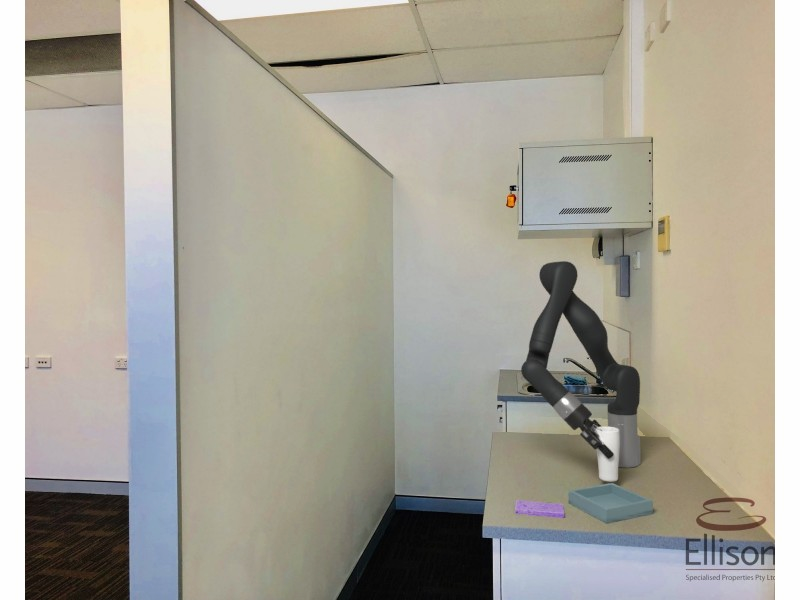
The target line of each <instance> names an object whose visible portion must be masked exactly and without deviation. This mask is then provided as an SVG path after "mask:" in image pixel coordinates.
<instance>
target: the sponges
mask: <svg viewBox="0 0 800 600" xmlns="http://www.w3.org/2000/svg"><path fill="white" fill-rule="evenodd" d="M514 510H515V513H516V514H515V515H520V514H527V515H526V516H532V515H534V517H547V518H557V519H558V518H560V519H563V518H565V510H564V504H563V503H554V502H542V501H531V500H521V499H516V501H515V507H514Z"/></svg>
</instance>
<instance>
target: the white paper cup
mask: <svg viewBox="0 0 800 600" xmlns="http://www.w3.org/2000/svg"><path fill="white" fill-rule="evenodd" d="M600 429H601V430H602V431H600ZM596 431H597V432H598V434H599V435H600V439H601V440H602V441H603V442H604V445H606V446H607V447H608V448H609V449H610V450H611V451H612V452H613V453H614V455H613V456H612V457H611V458H610V459H608V458H607V457H606V456H605V455H604V454H603V453H602V452H601V451H600V450H598V449H595V450H596V457H597V465H598V466H597V467H598V477H599V479H600V480H601V481H604V482H607V483H614V482H616V481H617V480H618V479H619V467H618V464H619V450H620V433H619V429H618V428H615V427H608V426H602V427H597V428H596ZM596 443H597V442H596Z"/></svg>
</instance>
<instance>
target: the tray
mask: <svg viewBox="0 0 800 600" xmlns="http://www.w3.org/2000/svg"><path fill="white" fill-rule="evenodd" d="M567 495H568V496H567V497H568V504H570V505H571V506H572V507H575V508H577V509H578V510H581V511H583V512H584V513H586V514H588V515H590V516H591V517H593V518H596V519H597V520H599V521H601V522H603V523H605V524H612V523H616V522H620V521H625V520H629V519H630V520H631V519H634V518H640V517H645V516H648V515H649V516H651V515H653V514H654V504H653V503H654V500H652V499H650V498H648V497H645V496H643V495H641V494H638V493H636V492H634V491H632V490H629V489H627V488H625V487H623V486H621V485H618V484H615V483H614V482H608V483H603V484H597V485H593V486H592V485H591V486H587V487H586V486H585V487H581V488H575V489H570V490H568V493H567Z"/></svg>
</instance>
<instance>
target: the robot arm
mask: <svg viewBox="0 0 800 600" xmlns="http://www.w3.org/2000/svg"><path fill="white" fill-rule="evenodd" d="M577 280H578V269H577V267H576V266H575V265H574V264H573V262H571V261H570V262H569V261H566V260H563V261H552V262H547V263H545V264H543V265H542V266H541V268H540V270H539V281H540V282H541V285H542V287H543V289H545V291H546V292H547V293H548V295H549V298H548V301H547V302H546V305H545V306H544V308H543V309H542V311H541V313H540V314H539V316H538V317H537V319H536V321H535V323H534V326H533V328H532V331H531V335H530V339H529V343H528V353H527V356H526V359H525V361H524V362H523V363H522V365H521V369H520V371H521V375H522V377H523V378H524V380H526V382H527V383H528V384H529V385H531V386H532V387H533V389H535V390H536V391H537V392H539V394H541V396H542V397H543V399H544V400H545V401H546V402H547V403H548V404H549V405H550V406H551V407H552V408H553V409H554V410H555V413H557V414H558V415H559V417H561V419H562V420H563V421H564V422H566V424H567V425H568V426H569V427H570V428H571V429H572V430H573V431H576V430H577V429H578V428H579V429H580V430H581V433H580V435H579V436H580V437H582V439H583V440H584V441H585V442H587V444H588V445H590V447H592V448H593V450H596V449H598V450H600V451H601V452H602V453H603V454H604V455H605V456H606V457H607V458H608V459H610V458H611V457H612V456H613V455H614V453H613V452H612V451H611V450H610V449H609V448H608V447H607V446H606V445H604V442H603V441H602V440H601V439H600V435H599V434H598V432H597V431H596V428H597V427H603V426H602V425H601V424H600V423H599V421H597V420H596V419H595V418H594V419H592V420H591V419H590V417H592V415H593V414H592V411H590V409H588V408H587V407H586V406H585V404H584V403H582V401H580V399H578V398H577V397H576V396H575V395H574V394H573V393H572V392H570V390H569V389H568V388H567V387H565V385H564V384H562V383H561V382H560V381H559V380H558V379H556V377H554V376H553V374H552V373H551V372H550V371H549V370H548V369H547V368H548V362H549V359H550V358H549V357H550V352H551V350H552V348H553V344H554V340H555V336H556V333H557V329H558V326H559V323H560V321H561V318H562V315H563V316H564V318H565V319H566V320H567V322H568V324H569V325H570V328H571V329H572V332H573V333H574V334H575V336H576V337H577V339H578V341H579V342H580V343H581V345H582V346H583V348H584V350H585V351H586V353H587V355H588V357H589V359H590V360H591V362H592V364H593V365H594V367H595V370H596V371H597V374H598V376H599V378H600V380H601V382H602V384H603V385H604V387H605V388H607V389H609V390H610V391H613V392H615V393H616V395H615V397H616V398H615V400H614V401H610V402H608V404H607V427H615V428H618V429H619V433H620V450H619V464H618V468H629V469H630V468H636V467H637V466H639V465H641V436H640V435H639V434H638V432H639V431H638V408H639V406H640V401H641V399H640V398H641V397H640V396H641V395H640V394H641V393H640V391H641V380H640V379H641V376H640V373H639V371H638V370H637V368H635V367H634V366H631V365H626V364H619V362H617V360H615V358H614V357H613V355H612V353H611V352H610V350H609V347H608V339H609V338H608V331H607V328H606V327H605V325H604V323H603V322H602V320H601V317H600V316H599V315H598V313H596V311H595V310H594V309H593V308H592V307H590V306H589V305H588V304H587V303H586V302H585V301H583V300H582V299H581V298H580V297H579V296H578V295H577V294H576V293H575V292H574V291H573V290H574V288H575V285H576V283H577ZM600 431H602V430H601V429H600ZM596 442H597V443H596Z"/></svg>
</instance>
